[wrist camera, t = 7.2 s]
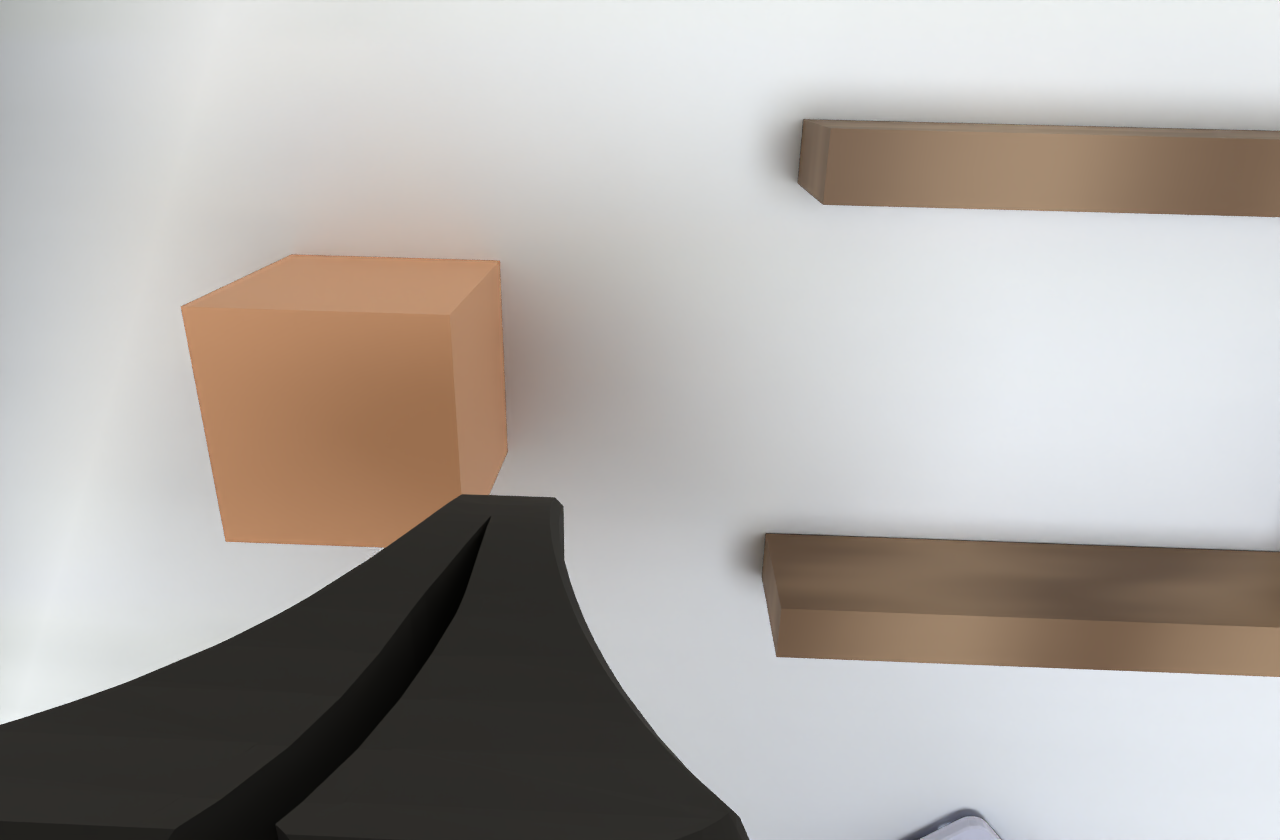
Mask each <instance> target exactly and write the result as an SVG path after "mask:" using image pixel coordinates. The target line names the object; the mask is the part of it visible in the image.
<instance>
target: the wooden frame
mask: <svg viewBox="0 0 1280 840" xmlns="http://www.w3.org/2000/svg"><path fill="white" fill-rule="evenodd" d="M798 184H799V185H800V186H802V187H803V188H804V189H805V190H806V191H807V192H809V193H810V194H811V195H812V196H813V197H814V198H816V199H817V200H818V201H819V202H820V203H822V204H823V205H852V206H889V207H926V208H963V209H999V210H1036V211H1073V212H1110V213H1147V214H1184V215H1221V216H1257V217H1280V131H1257V130H1217V129H1176V128H1136V127H1096V126H1055V125H1015V124H975V123H934V122H894V121H853V120H813V119H803V130H802V141H801V152H800V163H799V174H798ZM762 581H763V586H764V592H765V597H766V603H767V608H768V614H769V619H770V625H771V630H772V636H773V641H774V647H775V652H776V657H791V658H816V659H841V660H867V661H892V662H917V663H942V664H967V665H993V666H1018V667H1043V668H1068V669H1093V670H1119V671H1144V672H1169V673H1194V674H1219V675H1245V676H1270V677H1280V552H1260V551H1233V550H1205V549H1177V548H1150V547H1122V546H1095V545H1067V544H1040V543H1012V542H985V541H957V540H929V539H902V538H874V537H847V536H819V535H792V534H766V537H765V548H764V559H763V570H762Z"/></svg>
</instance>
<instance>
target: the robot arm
mask: <svg viewBox="0 0 1280 840" xmlns="http://www.w3.org/2000/svg"><path fill="white" fill-rule="evenodd" d="M0 840H749V838H748V836H747V833H746V831H745V829H744V826H743V824H742V822H741V819H740V817H739V816H738V815H737V814H736V813H735V812H734V811H733V810H732V809H730V808H729V807H728V806H727V805H726V804H725V803H724V802H723V801H722V800H720V799H719V798H718V797H717V796H716V795H715V794H714V793H713V792H712V791H711V790H709V789H708V788H707V787H706V786H705V785H704V784H703V783H702V782H701V781H699V780H698V779H697V778H696V777H695V776H694V775H693V774H692V773H691V772H690V771H689V770H688V769H687V768H686V767H685V766H684V765H683V763H682V762H681V761H680V760H679V759H678V758H677V757H676V756H675V754H674V753H673V752H672V751H671V750H670V749H669V748H668V747H667V746H666V744H665V743H664V742H663V741H662V740H661V739H660V738H659V737H658V735H657V734H656V733H655V731H654V730H653V729H652V727H651V726H650V725H649V723H648V722H647V721H646V719H645V718H644V717H643V715H642V714H641V713H640V711H639V710H638V709H637V707H636V706H635V705H634V704H633V702H632V701H631V700H630V698H629V697H628V696H627V694H626V693H625V692H624V690H623V689H622V687H621V685H620V684H619V682H618V681H617V679H616V677H615V676H614V674H613V673H612V671H611V669H610V668H609V666H608V664H607V663H606V661H605V659H604V657H603V655H602V654H601V652H600V650H599V648H598V646H597V644H596V643H595V641H594V639H593V637H592V635H591V632H590V630H589V628H588V626H587V624H586V622H585V619H584V617H583V615H582V612H581V610H580V607H579V605H578V602H577V600H576V597H575V594H574V591H573V588H572V586H571V583H570V579H569V576H568V572H567V568H566V565H565V561H564V514H563V505H562V504H561V503H560V502H559V501H558V500H557V499H556V498H553V497H526V496H498V495H470V494H462V495H460V496H458V497H457V498H455V499H453V500H452V501H450V502H449V503H447V504H446V505H444V506H443V507H442V508H440V509H439V510H437V511H436V512H435V513H433V514H432V515H430V516H429V517H428V518H426V519H425V520H424V521H422V522H421V523H419V524H418V525H417V526H415V527H414V528H413V529H411V530H410V531H408V532H407V533H406V534H404V535H403V536H401V537H400V538H398V539H397V540H396V541H394V542H393V543H391V544H390V545H388V546H387V547H386V548H384V549H383V550H381V551H380V552H379V553H377V554H376V555H374V556H373V557H371V558H370V559H368V560H367V561H365V562H364V563H362V564H361V565H359V566H357V567H356V568H354V569H353V570H351V571H349V572H348V573H346V574H345V575H343V576H341V577H340V578H338V579H337V580H335V581H334V582H332V583H330V584H329V585H327V586H326V587H324V588H322V589H321V590H319V591H318V592H316V593H315V594H313V595H311V596H310V597H308V598H306V599H305V600H303V601H301V602H299V603H298V604H296V605H294V606H292V607H290V608H289V609H287V610H285V611H283V612H281V613H279V614H278V615H276V616H274V617H272V618H270V619H268V620H266V621H264V622H262V623H260V624H258V625H256V626H254V627H252V628H250V629H248V630H246V631H244V632H242V633H240V634H238V635H236V636H234V637H232V638H230V639H228V640H226V641H224V642H222V643H219V644H217V645H215V646H213V647H210V648H208V649H206V650H203V651H201V652H199V653H196V654H194V655H191V656H189V657H187V658H184V659H182V660H179V661H177V662H175V663H172V664H170V665H168V666H165V667H163V668H160V669H158V670H156V671H153V672H151V673H149V674H146V675H144V676H141V677H139V678H137V679H134V680H132V681H129V682H126V683H124V684H121V685H118V686H116V687H113V688H110V689H107V690H104V691H102V692H99V693H96V694H93V695H90V696H88V697H85V698H82V699H79V700H76V701H74V702H70V703H67V704H64V705H61V706H58V707H55V708H52V709H49V710H46V711H43V712H40V713H37V714H34V715H31V716H28V717H24V718H21V719H18V720H15V721H12V722H8V723H5V724H2V725H0ZM919 840H1001V839H1000V838H999V836H998V835H997V834H996V833H995V832H994V831H993V829H992V828H991V827H990V826H989V825H988V824H987V822H986V821H984V820H983V819H982V818H979V817H975V816H966V817H963V818H960V819H958V820H956V821H954V822H952V823H950V824H948V825H947V826H945V827H943V828H941V829H939V830H937V831H935V832H933V833H931V834H929V835H927V836H925V837H923V838H921V839H919Z"/></svg>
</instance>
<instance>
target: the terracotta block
mask: <svg viewBox="0 0 1280 840" xmlns="http://www.w3.org/2000/svg"><path fill="white" fill-rule="evenodd" d="M181 310H182V315H183V321H184V326H185V331H186V336H187V342H188V347H189V352H190V357H191V363H192V368H193V373H194V378H195V384H196V389H197V394H198V399H199V405H200V410H201V415H202V420H203V425H204V431H205V436H206V441H207V446H208V452H209V457H210V462H211V467H212V473H213V478H214V483H215V488H216V494H217V499H218V504H219V509H220V515H221V520H222V525H223V530H224V536H225V541H226V542H250V543H277V544H304V545H331V546H358V547H385V548H386V547H387V546H388V545H390V544H391V543H393V542H394V541H396V540H397V539H398V538H400V537H401V536H403V535H404V534H406V533H407V532H408V531H410V530H411V529H413V528H414V527H415V526H417V525H418V524H419V523H421V522H422V521H424V520H425V519H426V518H428V517H429V516H430V515H432V514H433V513H435V512H436V511H437V510H439V509H440V508H442V507H443V506H444V505H446V504H447V503H449V502H450V501H452V500H453V499H455V498H457V497H458V496H460V495H462V494H470V495H489V494H490V492H491V489H492V487H493V485H494V482H495V480H496V478H497V475H498V473H499V471H500V468H501V466H502V464H503V461H504V459H505V457H506V455H507V452H508V449H507V424H506V400H505V376H504V352H503V328H502V304H501V280H500V261H494V260H460V259H427V258H393V257H360V256H326V255H293V254H292V255H289V256H287V257H285V258H283V259H281V260H279V261H277V262H275V263H272V264H270V265H268V266H266V267H264V268H262V269H260V270H258V271H255V272H253V273H251V274H249V275H247V276H245V277H243V278H241V279H238V280H236V281H234V282H232V283H230V284H228V285H226V286H224V287H221V288H219V289H217V290H215V291H213V292H211V293H209V294H207V295H204V296H202V297H200V298H198V299H196V300H194V301H192V302H190V303H187V304H185V305H183V306H181Z"/></svg>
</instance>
